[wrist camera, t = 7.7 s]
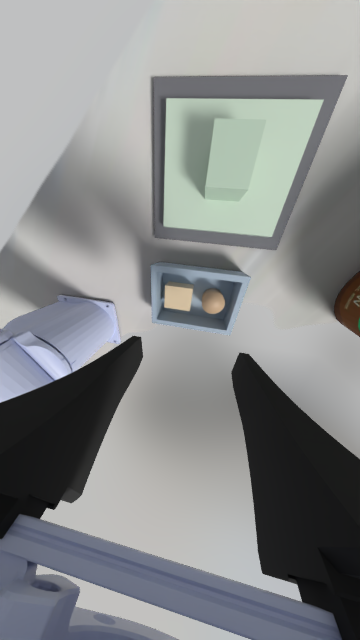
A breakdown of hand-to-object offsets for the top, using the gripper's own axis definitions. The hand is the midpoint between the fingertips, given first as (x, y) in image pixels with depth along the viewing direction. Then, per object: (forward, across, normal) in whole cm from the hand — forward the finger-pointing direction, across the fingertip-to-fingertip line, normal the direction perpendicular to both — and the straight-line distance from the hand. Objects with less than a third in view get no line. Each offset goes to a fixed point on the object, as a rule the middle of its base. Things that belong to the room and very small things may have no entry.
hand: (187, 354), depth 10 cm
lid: (+9, -1, -12) cm, 16 cm away
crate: (+10, 0, -2) cm, 10 cm away
